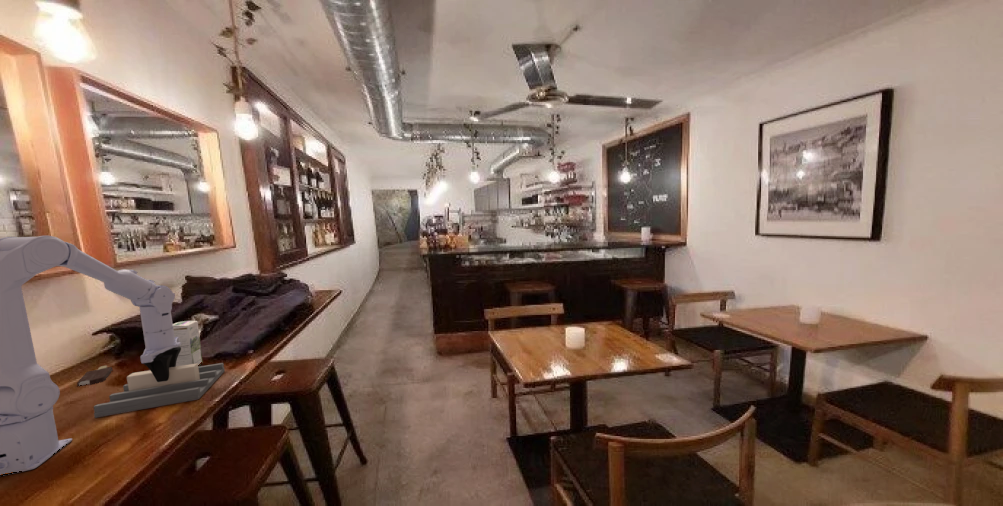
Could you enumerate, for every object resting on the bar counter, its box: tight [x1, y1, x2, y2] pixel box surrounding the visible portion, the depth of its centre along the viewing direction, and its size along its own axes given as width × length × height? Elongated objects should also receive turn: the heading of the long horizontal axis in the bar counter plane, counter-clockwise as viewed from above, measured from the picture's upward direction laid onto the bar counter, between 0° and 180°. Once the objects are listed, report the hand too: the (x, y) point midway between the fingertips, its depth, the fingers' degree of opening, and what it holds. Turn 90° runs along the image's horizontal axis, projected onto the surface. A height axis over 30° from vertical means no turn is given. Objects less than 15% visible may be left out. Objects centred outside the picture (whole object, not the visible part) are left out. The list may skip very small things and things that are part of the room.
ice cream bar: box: [76, 365, 113, 387], centre depth 107 cm, size 5×2×15 cm
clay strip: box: [126, 363, 200, 391], centre depth 95 cm, size 14×2×5 cm, turn 111°
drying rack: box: [93, 362, 226, 419], centre depth 95 cm, size 18×20×3 cm
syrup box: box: [173, 320, 203, 366], centre depth 110 cm, size 6×6×14 cm
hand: (165, 378), depth 95 cm, fingers closed on clay strip, 2 cm apart
